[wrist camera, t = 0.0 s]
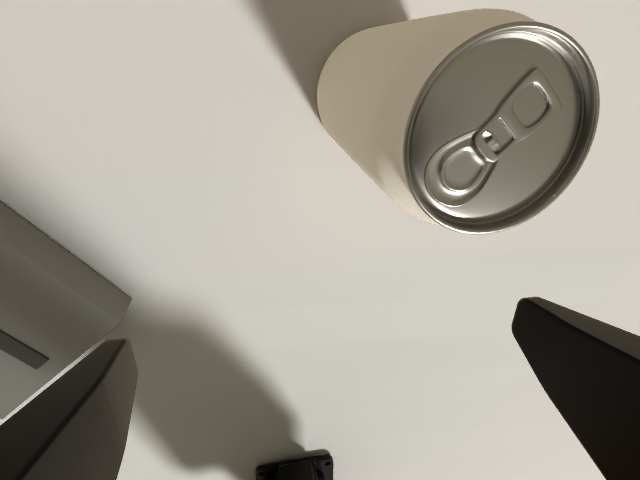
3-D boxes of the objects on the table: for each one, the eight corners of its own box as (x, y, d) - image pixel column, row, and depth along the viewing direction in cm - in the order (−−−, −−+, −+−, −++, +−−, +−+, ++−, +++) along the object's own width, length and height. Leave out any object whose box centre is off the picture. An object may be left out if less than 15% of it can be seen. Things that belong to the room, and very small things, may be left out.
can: (289, 97, 20) (337, 148, 10) (378, -4, 19) (545, -73, 8) (369, 177, 23) (475, 284, 12) (453, 93, 22) (650, 133, 11)
